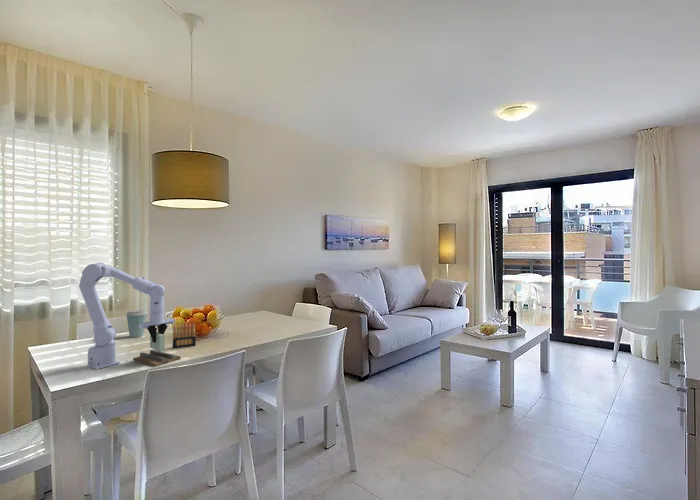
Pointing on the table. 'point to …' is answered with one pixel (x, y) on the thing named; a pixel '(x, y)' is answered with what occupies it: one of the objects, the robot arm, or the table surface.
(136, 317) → the disposable coffee cup
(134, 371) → the table surface
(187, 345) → the ammunition clip
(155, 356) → the track base
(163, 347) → the grey-green rectangular block
